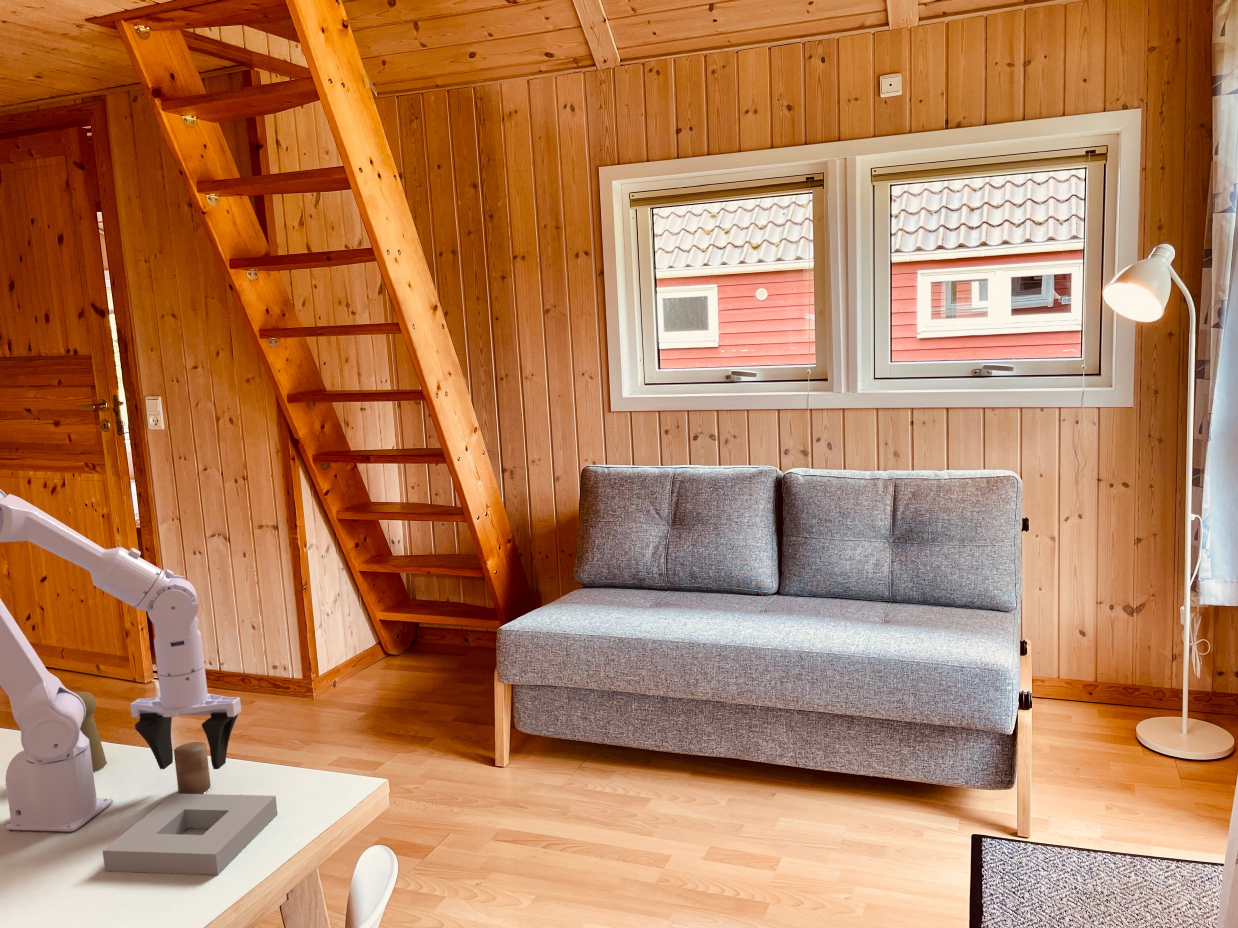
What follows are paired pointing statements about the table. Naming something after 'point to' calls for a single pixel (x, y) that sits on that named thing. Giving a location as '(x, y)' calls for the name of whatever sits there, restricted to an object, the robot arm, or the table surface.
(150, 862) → the socket block
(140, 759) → the table surface
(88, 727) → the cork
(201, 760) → the wooden peg
